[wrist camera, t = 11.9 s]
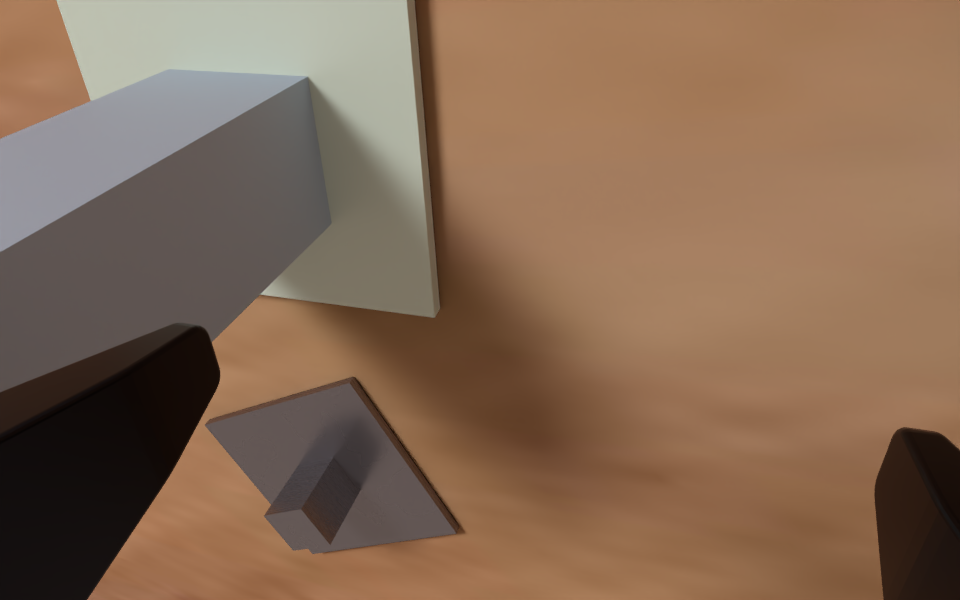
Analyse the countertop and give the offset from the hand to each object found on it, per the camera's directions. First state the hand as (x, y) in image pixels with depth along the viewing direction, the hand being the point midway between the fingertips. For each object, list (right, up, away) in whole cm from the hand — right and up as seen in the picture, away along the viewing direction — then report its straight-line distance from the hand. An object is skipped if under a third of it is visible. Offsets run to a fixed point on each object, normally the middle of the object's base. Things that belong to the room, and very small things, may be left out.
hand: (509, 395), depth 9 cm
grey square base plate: (-7, -7, +23) cm, 25 cm away
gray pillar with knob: (-8, +6, +14) cm, 17 cm away
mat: (-8, +7, +15) cm, 18 cm away
